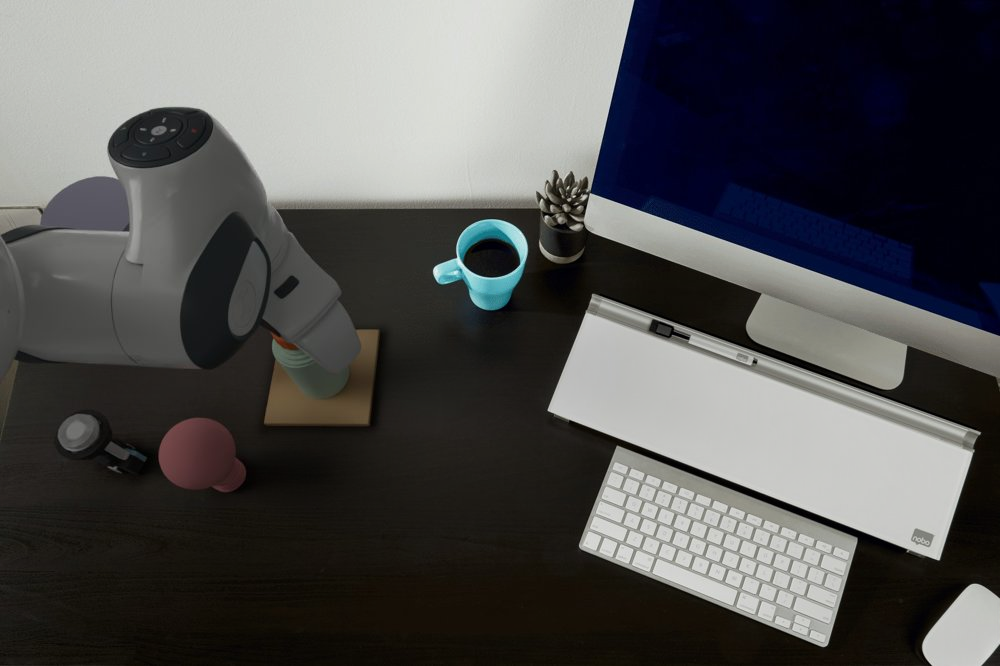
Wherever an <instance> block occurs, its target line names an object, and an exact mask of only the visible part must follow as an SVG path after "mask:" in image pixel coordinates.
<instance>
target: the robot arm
mask: <svg viewBox="0 0 1000 666" xmlns="http://www.w3.org/2000/svg"><path fill="white" fill-rule="evenodd" d="M106 152H107V157H108V160H109V163H110V166H111V167H112V169H113V172H114V174H115V176H116V179H118V180H119V181H120V183H121V185H122V186H123V188H124V190H125V191H126V196H127V201H128V207H129V220H130V229H129V232H127V231H101V230H76V229H72V228H64V227H55V226H45V225H40V224H27V225H23V226H19V227H16V228H13V229H10V230H8V231H6V232H4V233H0V385H1V383H2V381H3V380H4V379H5V377H6V375H7V374H8V372H9V371H10V369H11V367H12V365H13V363H14V361H17V362H20V363H25V364H70V363H72V364H73V363H74V364H90V365H91V364H92V365H107V366H109V365H110V366H111V365H113V366H129V367H146V368H161V369H185V370H205V371H206V370H207V371H208V370H215V369H217V368H218V367H220V366H222V365H224V364H226V363H227V362H228V361H229V360H231V359H232V358H233V357H234V356H235V355H236V354H237V353H238V352H240V351H241V349H242V348H243V347H244V346H245V345H246V344H247V343H248V342H249V341H250V339H252V337H253V336H254V334H255V333H256V332H257V331H258V328H259V327H260V326H261V327H263V328H264V329H266V330H268V331H269V332H270V333H271V332H272V333H273V334H275V335H276V336H278V337H280V338H282V339H283V340H284V341H286V342H287V343H293V344H294V345H295V346H297V347H298V348H299V349H301V350H302V351H303V352H304V353H306V354H307V355H308V356H310V357H311V358H312V359H313V360H315V361H316V362H317V363H318V364H320V365H321V366H322V367H324V368H325V369H326V370H327V371H328V372H329V373H331V374H335V375H336V374H339V373H341V372H342V371H344V370H345V369H346V368H347V367H348V366H349V365H350V364H351V363H352V362H353V361H354V359H355V358H356V357H357V356H358V354H359V353H360V351H361V342H360V340H359V337H358V334H357V332H356V330H357V329H356V328H355V325H354V323H353V321H352V319H351V316H349V315H350V314H349V313H348V311H347V310H346V308H345V307H344V306H343V304H342V303H341V302H340V301H339V300H338V299H339V298H340V297H341V295H342V290H341V288H340V285H339V284H338V283H337V281H336V280H335V279H334V278H333V277H332V276H331V275H330V274H329V273H328V272H327V271H326V270H325V269H324V268H323V267H322V266H320V264H319V263H317V262H316V261H315V260H314V259H313V258H312V257H311V256H310V255H309V254H308V253H307V252H306V251H305V250H304V248H303V246H302V245H301V244H300V243H299V241H298V240H297V238H296V236H295V235H294V233H292V232H291V231H289V230H288V228H287V226H286V224H285V222H284V221H283V218H282V216H281V215H280V213H279V212H278V210H277V209H276V207H274V205H272V203H270V202H269V201H268V195H267V191H266V188H265V186H264V183H263V180H261V178H260V176H259V174H258V172H257V170H256V168H255V167H254V165H253V164H252V162H251V160H250V158H249V156H248V155H247V154H246V153H245V151H244V149H243V147H242V146H241V145H240V144H239V142H238V140H237V139H236V138H235V136H234V135H233V134H232V133H231V132H230V130H229V129H228V127H226V126H225V125H224V124H223V123H222V122H221V121H220V120H219V119H218V118H216V117H215V116H214V115H212V114H211V113H209V112H207V111H206V110H204V109H202V108H198V107H197V108H196V107H191V106H163V107H155V108H151V109H149V110H145V111H143V112H140V113H138V114H136V115H134V116H132V117H130V118H129V119H127V120H126V121H124V122H123V123H121V125H119V126H118V127H117V128H116V129H115V130H114V131H113V132H112V134H111V135H110V137H109V139H108V141H107V146H106Z"/></svg>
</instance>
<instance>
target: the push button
mask: <svg viewBox="0 0 1000 666" xmlns="http://www.w3.org/2000/svg"><path fill="white" fill-rule="evenodd" d="M98 421H99V422H98ZM54 445H55V449H56V451H57V452H58V454H59V455H60V456H62V457H64V458H65V459H66V460H67V459H68V460H70V461H91V460H92V461H94V462H96V463H97V464H100V465H103V466H105V467H107V468H108V469H109V470H111V471H114V472H115V473H118V474H119V473H120V474H123V472H122V471H121V470H124V471H126V472H128V473H130V474H132V475H136V476H139V475H140V473H141V471H142V469H143V467H144V465H145V462H146V461H147V459H148V457H147V456H145V455H144V454H142V453H140V452H139V451H136V450H135V449H136V448H135V447H134V446H132V445H130V444H129V443H126V442H125V441H124V440H122V439H120V438H119V437H116V436H113V429H112V427H111V425H110V422H109V420H108V419H107V417H106V416H105V415H104V414H103V413H102V412H100V411H98V410H96V409H91V408H86V409H80V410H78V411H75V412H73V413H71V414H70V415H68V416H67V417H66V418H65V419H64V420H63V421H62V422H61V423H60V425H59V426H58V428H57V430H56V433H55V435H54ZM118 468H119V469H121V470H119V469H118Z"/></svg>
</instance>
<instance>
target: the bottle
mask: <svg viewBox="0 0 1000 666" xmlns="http://www.w3.org/2000/svg"><path fill="white" fill-rule="evenodd" d="M271 349H272V351H271V352H272V354H273V356H274V359H275V360H276V359H277V361H278V362H279V363H280V365H281V366H282V367H283V368H284V370H285V371H286V372H287V374H288V375H289V376H290V377H291V379H292V380H293V381H294V382H295V384H296V385H297V386H298V388H299V389H300V390H301V391H302V393H304V394H305V395H306V396H308V397H310V398H314V399H325V398H329V397H332V396H334V395H335V394H337V393H338V392H340V391H341V390H342V389H343V387H344V386H345V385H346V383H347V381H348V378H349V366H348V367H347V368H346V369H345V370H344V371H342V372H341V373H339V374H336V375H335V374H331V373H329V372H328V371H327V370H326V369H325V368H324V367H322V366H321V365H320V364H318V363H317V362H316V361H315V360H313V359H312V358H311V357H310V356H308V355H307V354H306V353H304V352H303V351H302V350H301V349H299V350H291V351H290V350H287V349H283V348H282V347H281V346H280V345H278V343H277V342H276V341H275V339H274V338H273V337H272V343H271Z"/></svg>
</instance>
